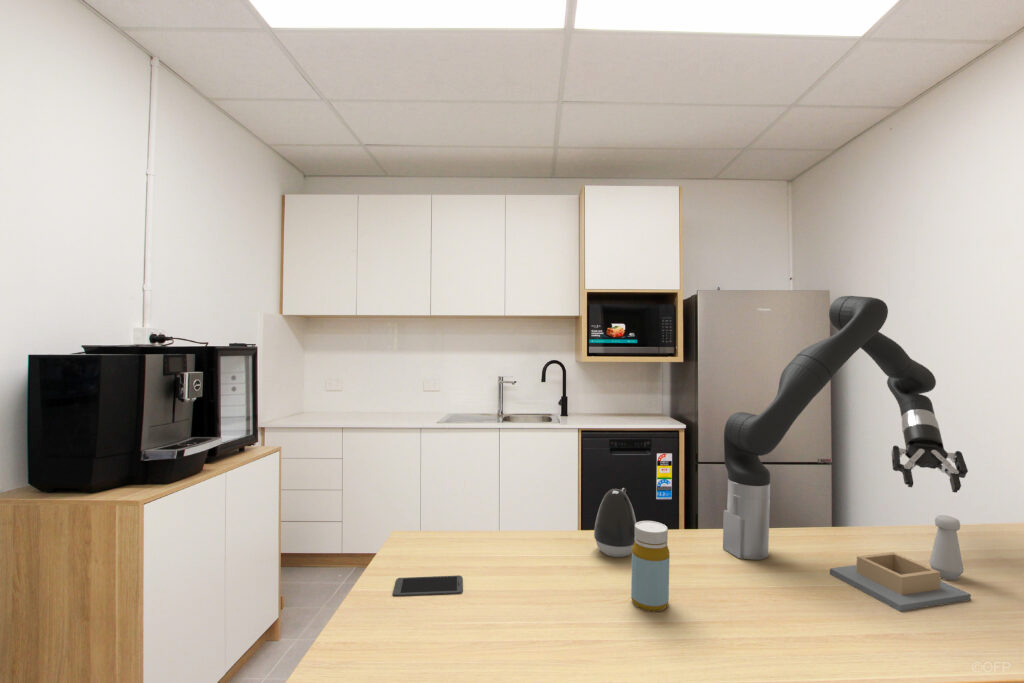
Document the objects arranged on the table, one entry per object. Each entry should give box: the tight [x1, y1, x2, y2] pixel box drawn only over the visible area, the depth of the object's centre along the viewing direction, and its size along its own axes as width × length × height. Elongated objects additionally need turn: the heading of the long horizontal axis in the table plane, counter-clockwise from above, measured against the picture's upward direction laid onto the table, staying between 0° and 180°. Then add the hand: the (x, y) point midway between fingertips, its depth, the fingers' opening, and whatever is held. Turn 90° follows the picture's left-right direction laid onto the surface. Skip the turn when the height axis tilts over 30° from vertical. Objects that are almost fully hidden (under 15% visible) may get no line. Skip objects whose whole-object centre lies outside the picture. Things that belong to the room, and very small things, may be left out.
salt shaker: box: [929, 514, 965, 581], centre depth 116 cm, size 6×6×13 cm
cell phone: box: [392, 574, 464, 598], centre depth 109 cm, size 7×14×1 cm, turn 96°
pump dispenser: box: [593, 487, 637, 558], centre depth 126 cm, size 10×10×15 cm
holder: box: [829, 551, 972, 612], centre depth 111 cm, size 18×16×5 cm
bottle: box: [630, 520, 671, 612], centre depth 103 cm, size 7×7×15 cm
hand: (933, 488), depth 125 cm, fingers open, 8 cm apart
